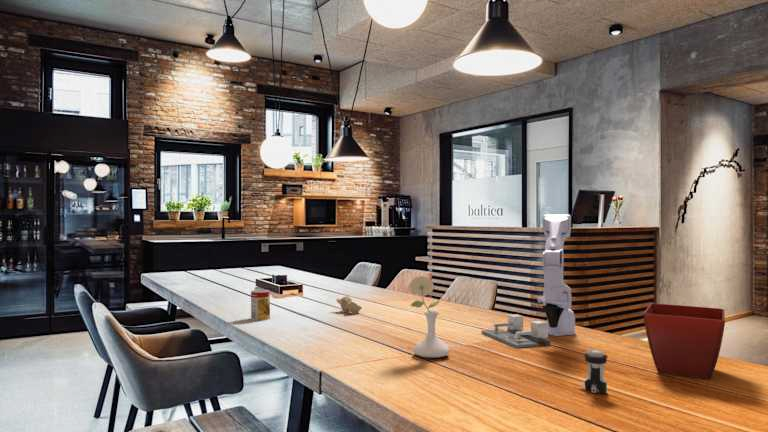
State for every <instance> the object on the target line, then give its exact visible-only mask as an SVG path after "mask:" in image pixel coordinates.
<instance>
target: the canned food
mask: <svg viewBox="0 0 768 432" xmlns="http://www.w3.org/2000/svg"><path fill="white" fill-rule="evenodd" d="M270 293H271V291H270V289H254V290H251V291H250V319H251V320H252V321H255V322H256V321H259V322H260V321H268V320H270V318H271V298H270V297H271V295H270Z"/></svg>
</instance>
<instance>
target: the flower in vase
mask: <svg viewBox="0 0 768 432" xmlns="http://www.w3.org/2000/svg"><path fill="white" fill-rule="evenodd" d="M408 288H409V290H410V293H411V294H412V295H414V296H416V295H417V296H418V297H421V298H422V301H421V300H415V301H413V302H411V304H410V307H415V308H422V307H423V305H424V306H425V309H426V310H425V311H423V313H422V314H424V315H425V318H426V322H427V333H426V336H425V337H424V338H423V339H422V340H421V341H420V342H419V343H418V342H417V344H416V345H415V346H414V348H413V352H414V354H415V355H418V356H419V357H423V358H429V359H430V358H431V359H437V358H441V357H442V358H443V357H445V356H448V355H449V353H450V351H451V350H450V348H449V347H448V345H447V344H446V343H444V342H443V341H442V340H441V339H440V338H439V337H438V336H437V334H436V320H437V317H438V316H439V314H440V311H438V310H430V308H434V307H436V306H437V305H438V304H439V302H440V300H439V299H438V300H437V301H434V302H432V303H430V304H429V305H428V306H427V305H426V303H425V300H424V297H425V296H427V295H431V294H432V292H433V291H434V289H435V285H434V282H433V280H432V278H428V276H424V275H421V276H419V275H418V276H416V277H415V278H413V279H411V282H410V283H409V285H408Z"/></svg>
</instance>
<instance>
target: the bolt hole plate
mask: <svg viewBox="0 0 768 432" xmlns="http://www.w3.org/2000/svg"><path fill="white" fill-rule="evenodd" d="M481 334H482V335H485V336H486V337H490V338H492V339H493V340H496V341H499V342H502V343H504V344H506V345H508V346H511V347H513V348H515V349H522V348H523V349H524V348H532V347H533V348H534V347H538V346H539V343H538V342H535V341H532V340H530V339H527V338H524V337H522V336H521V339H518V336H517V335H516V334H514V333H511V332H508V331H506V330H504V329H502V328H498V331H496V330H495V329H485V330H481Z"/></svg>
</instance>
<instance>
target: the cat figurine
mask: <svg viewBox="0 0 768 432" xmlns="http://www.w3.org/2000/svg"><path fill="white" fill-rule="evenodd" d="M336 302H337V303H338V304H339V305H340V307H341V310H342V312H344V313H345V314H348V313H351V314H355V313H356V314H358V313H359V312H360V311H361V310H362V308H363V307H362V306H361V305H359V304H357V303H356V302H354V301H353V299H352V298H351V296H346V295H345V296H343V297H342V298H336Z"/></svg>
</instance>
